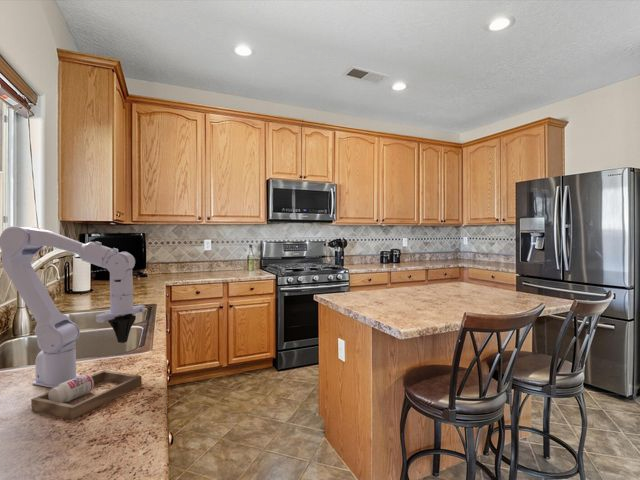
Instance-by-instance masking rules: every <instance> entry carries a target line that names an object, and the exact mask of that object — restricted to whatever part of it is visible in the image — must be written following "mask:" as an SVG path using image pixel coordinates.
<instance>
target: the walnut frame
mask: <svg viewBox="0 0 640 480" xmlns="http://www.w3.org/2000/svg"><path fill="white" fill-rule="evenodd" d="M90 376H91V377H92V379H93V381H94V386H96V385H97V384H99V383H102V382H110V383H115V384H117V385H115V386H113V387H111V388H109V389H106V390H104V391H102V392H100V393H97V394H95V395H93V396H91V397H89V398H87V399H84V400H82V401H80V402H78V403H76V404H69V403H66V402H65V403H64V402H63V403H60V402H56V401H51V400H49V398H48V393H49V391H48V392H47V393H43V394H41V395H38V396H36V397H34V398H32V399H30V401H31V403H30V404H31V405H30V406H31V411H34V412H39V413H43V414H48V415H52V416H56V417H60V418H65V419H69V420H74V419H76V418H78V417H80V416H83V415H84V414H87V413H88V412H90V411H92V410H94V409H96V408H98V407H100V406H102V405H105V404H107V403H109V402H111V401H113V400H115V399H116V398H119V397H121V396H122V395H125V394H126V393H129V392H131V391H133V390H135V389H137V388H140V387H141V386H142V375H137V374H130V373H124V372H118V371H111V370H105V369H104V370H101V371H100V372H96V373H93V374H91V375H90Z"/></svg>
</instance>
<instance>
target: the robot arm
mask: <svg viewBox="0 0 640 480" xmlns="http://www.w3.org/2000/svg"><path fill="white" fill-rule="evenodd" d="M44 247H52V248H56V249H59V250H63V251H66V252H69V253H72V254H76V255H78V256H79V258H80V259H81V261H82V262H86V263H89V264H92V265H94V266H97V267H101V268H103V269H106V270H107V271H108V272H109V302H110V305H109V310H108V311H105V312H103V313H99V314H96V315H95V323H99V324H100V323H105V322H107V321H108V324H109V325H110V326H111V328H112V329H113V331H114V334H115V337H116V340H117V343H121V344H124V343H127V342H128V339H129V336H130V332H131V329H132V326H133V324H134V323H135V321H136V319H137V317H136V315H134V314H139V313H144V312H146V305H144V304H142V305H141V304H139V305H134V280H133V277H134V276H133V269H134V267H135V266H136V265H135V264H136V258H135V257H134V255H132V254H131V253H130V252H128V251H121V252H119V249H118V248H115V247H113V248H111V247H108V246H105V245H102V242H100V241H89V242H87V243H83V242H80V241H77V240H76V239H72V238H70V237H68V236H65V235H62V234H60V233H58V232H54V231H52V230H48V229H44V228H43V229H42V228H41V227H36V226H35V227H25V226H24V227H22V226H15V225H14V226H13V225H12V226H8V227H6V228H5V229H4V230H3V231H2V232H1V234H0V249H1V252H0V253H1V265H2V267H3V268H2V269H4V271H5V273H6V275H8V278H9V279H10V281H11V282H12V284H13V286H14V287H15V289H16V290H17V291H16V292H18V294H19V296H20V297H21V299H22V301H23V302H24V303H25V306H26V308H28V310H29V312H30V313H31V315H32V317H33V318H34V320H35V322H36V325H35V328H34V334H35V336H36V338H37V340H36V341H37V342H36V343H37V346H38V348H39V349H40V352H38V354H37V355H36V358H35V363H34V365H35V380H34V381H32V382H31V384H32V385H36V386H40V387H41V386H42V387H45V388H47V387H48V388H50V389H52V388H55V387H58V386H59V385H60V384H61V383H63V382H66V381H68V380H71V379H73V378H76V377H78V376H81V375H82V374H78V373H77V351H76V348H77V347H76V345H77V344H76V340H78V338H79V337H80V333H81V331H80V327H79V326H78V324H76V323H75V322H73V321H72V320H71V319H70V317H69V316H68V315H66V314H64V313H62V312H60V310H59V309H58V307H57V304H56V303H55V302H54V300H53V299H52V297H51V295H50V294H49V292H48V291H47V289H46V286H44V284H43V282H42V281H41V279H40V277H39V276H38V274H37V273H36V271H35V269H34V267H33V266H32V262H33V259H34V257H35V256H36V255H37V254H38V253H39V252H40V251H41V250H42V249H43V248H44Z"/></svg>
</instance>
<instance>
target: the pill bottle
mask: <svg viewBox="0 0 640 480" xmlns="http://www.w3.org/2000/svg"><path fill="white" fill-rule="evenodd" d="M80 375H81V376H78V377H76V378H73V379H71V380H68V381H66V382H63V383H61V384H60V385H59V386H58V387H55V388H50V390H49V391H48V392H49V393H48V392H47V393H48V398H49V400H51V401H56V402H60V403H65V404H66V403H68V402H70V401H72V400H75V399H77V398H79V397H82V396H83V395H86V394H88V393H90V392H91V391H93V389H94V386H95V385H94V381H93V379H92V377H91V375H90V374H88V373H83V374H80Z"/></svg>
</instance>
